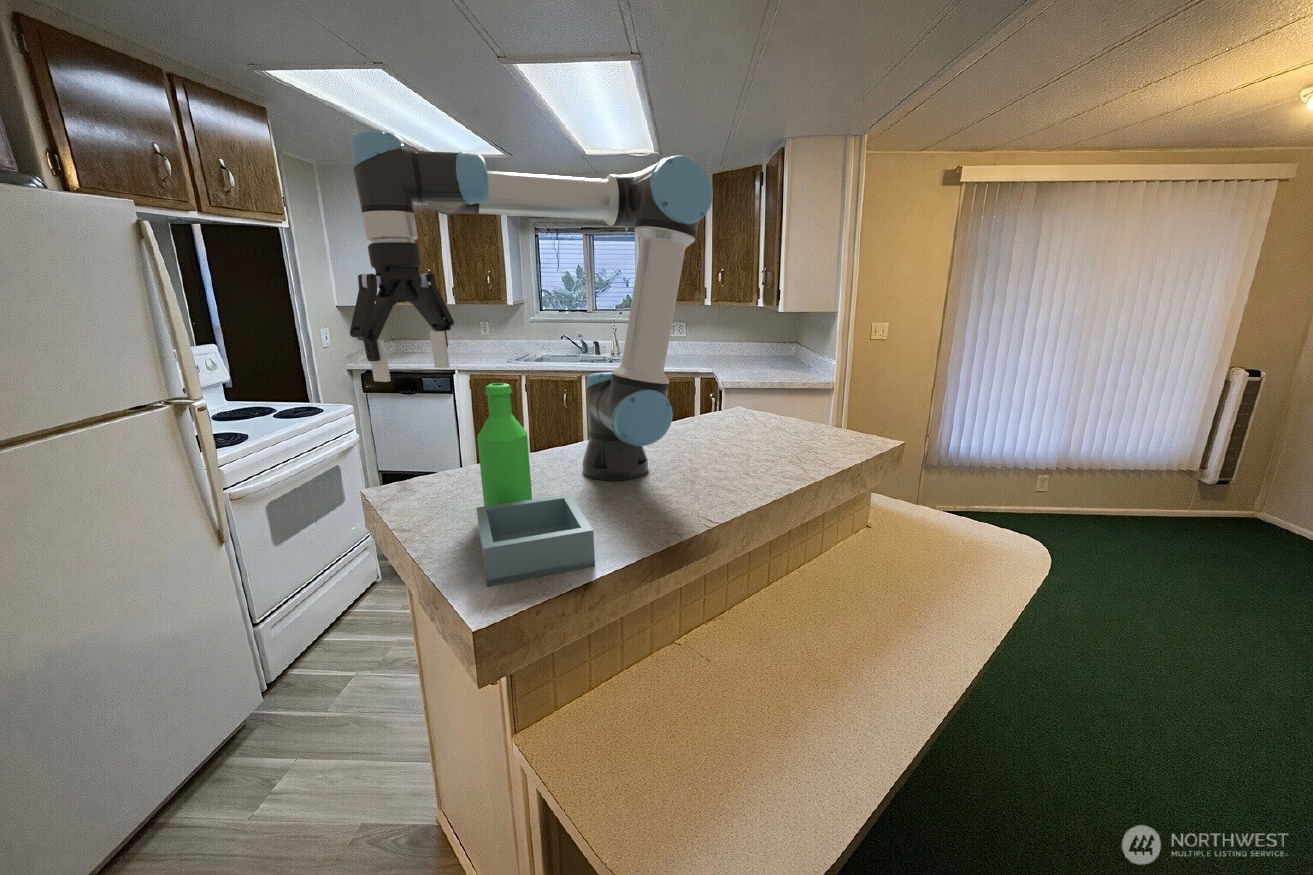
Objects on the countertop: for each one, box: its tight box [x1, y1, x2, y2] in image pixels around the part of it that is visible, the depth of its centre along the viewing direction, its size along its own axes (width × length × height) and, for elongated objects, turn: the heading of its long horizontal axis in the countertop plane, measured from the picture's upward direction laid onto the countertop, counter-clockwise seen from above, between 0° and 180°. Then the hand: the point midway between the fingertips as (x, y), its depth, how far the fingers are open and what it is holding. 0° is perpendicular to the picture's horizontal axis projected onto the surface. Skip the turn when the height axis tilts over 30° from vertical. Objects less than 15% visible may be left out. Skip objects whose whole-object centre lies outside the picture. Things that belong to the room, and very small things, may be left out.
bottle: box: [476, 382, 533, 507], centre depth 100 cm, size 9×9×25 cm
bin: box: [475, 493, 596, 587], centre depth 88 cm, size 16×16×6 cm
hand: (414, 374), depth 94 cm, fingers open, 13 cm apart
